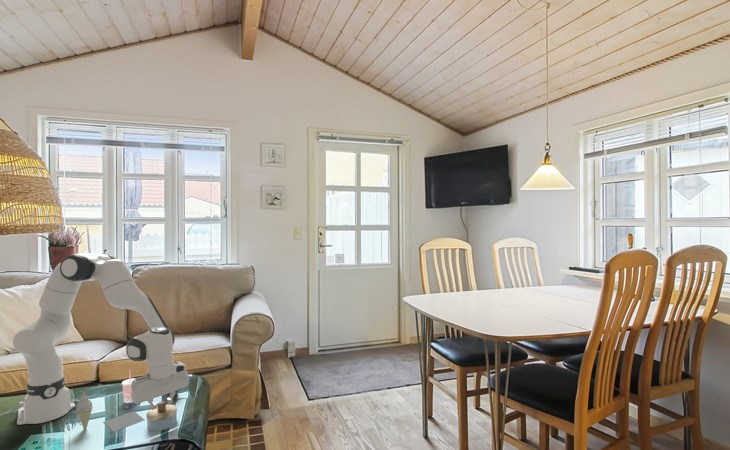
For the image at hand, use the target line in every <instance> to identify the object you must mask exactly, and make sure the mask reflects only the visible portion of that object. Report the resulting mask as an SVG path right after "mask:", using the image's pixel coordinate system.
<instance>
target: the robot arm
mask: <svg viewBox="0 0 730 450" xmlns="http://www.w3.org/2000/svg"><path fill="white" fill-rule="evenodd" d="M89 281H90V282H92V281H93V282H94V281H98V282H99V284H100V286H101V289H102V292H103V295H104V298H105V300H106V301H107V302H108V304H109V305H111V307H114V308H117V309H120V310H121V309H122V310H130V311H135V312H137V313H139V314H140V315H141V316H142V317H143V319H144V321H145V323H146V325H147V326H148V328H149V329H148V330H147V331H146V332H144V333H142V334H139V335H136V336H133V337H132V338H130V339H129V340H127V341H128V342H127V344H126V348H125V350H126V351H125V352H126V356H127V357H128V358H129V359H130V360H131V361H133V362H144V361H146V362H147V374H144V375H141V376H138V377H137V376H136V377H135V379H134V380H133V381H132V383H131V388H132V395H131V400H132V401H133V402H132V403H134V404H136V405H138V404H141V403H144V402H148V404H149V405H150V410H154V409H156V408H157V403H156V402H153V401H154V399H155V398H158V397H162V395H165V394H168V393H171V394H170V396H169V398H167V401H166V405H171V404H172V403H174V402H173V401H174V400H173V399H174V397H175V396H174V395H175V391H176V390H177V391H179V390H183V389H185V388H188V387H189V385H190V379H189V377H190V376H189V372H188V371H187V368H188V367H187V365H186V364H185V363H183V362H180V361H178V360H176V361H174V357H173V351H174V344H175V342H176V341H175V339H176V338H175V334H174V333H173V331H172V330H171V328H170V327H169V326H168V325H167V324H166V322H165V321H164V318H163V316H162V315H161V314H160V311H158V309H157V307H156V306H155V303H154V302H153V301H152V299H151V298H150V296H148V294H146V293H144V292H143V291H142V290H140V288H139V287H138V285H137V283H136V282H135V280H134V277H133V275H132V273H131V271H130V269H129V268H128V266H127V265H126V264H125V262H124V261H123V260H121V259H118V258H116V257H115V256H113V255H111V254H108V253H98V252H97V253H96V252H89V253H88V252H87V253H75V254H70V255H67V256H65V257H64V258H63V259H62V261H61V262H60V263H58V264H57V265H55V268H54V269H53V271H52V272H51V274H50V275H49V278H48V280H47V282H46V283H45V287H44V289H43V292H42V294H41V297H40V299H39V302H38V307H39V308H40V315H39V317H38V319H37V321H36V322H32V323H30V324H28V325H25V326H24V327H23V328H21V329H20V330H19V331H18V332H17V333H15V335H14V336H13V339H12V346H13V348H14V349H15V350H16V352H18V353H20V354H21V355H22V356H23V358H24V361H25V363H26V368H27V384H26V395H25V397H24V400H23V401H19V402H18V404H19V405H18V407H19V408H18V412H17V420H16V425H19V426H21V425H27V424H28V425H29V424H31V425H35V424H42V423H48V422H51V421H53V420H56V419H59V418H61V417H63V416H64V415H66V414H67V413H69V412H70V411H71V410H73V409H74V408H75V407H76V404H75V403H74V402H71V401H72V400H71V393H70V391H71V390H70V389H69V388H68V387H66V379H65V376H64V365H63V364H64V363H63V361H64V360H63V358H62V356H60V355H58V353H57V351H56V347H55V346H56V343H58V342H60V341H62V340H63V339H65V338H66V336H68V334H69V333H70V332H71V331H72V328H73V327H72V326H73V325H72V321H71V314H72V309H73V305H74V303H75V300H76V298H77V295H78V293H79V290H80V288H81V285H82V283H83V282H89ZM135 380H136V381H135Z"/></svg>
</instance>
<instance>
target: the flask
mask: <svg viewBox="0 0 730 450" xmlns="http://www.w3.org/2000/svg"><path fill="white" fill-rule="evenodd" d="M170 394H171V393H168V394H165V395H162V396H161V402H166V403H167V398H169V396H170ZM177 395H178V390H176V391H175V395H174V397H175V396H177Z"/></svg>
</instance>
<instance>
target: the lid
mask: <svg viewBox="0 0 730 450" xmlns="http://www.w3.org/2000/svg"><path fill="white" fill-rule="evenodd" d="M156 407H157V408H156V409H154V410H151V409H149V410H147V412H146V413H145V414H146V420H147V419H148V420H152V421H158V420H163V419H167V418H169V417H171V416H173V415H174V414H175V413H176V412H178V407H177V405H174V404H167V401H166V402H162V401H160V402H157V405H156Z"/></svg>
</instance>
